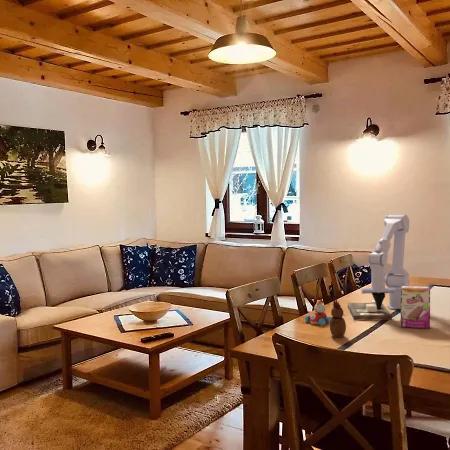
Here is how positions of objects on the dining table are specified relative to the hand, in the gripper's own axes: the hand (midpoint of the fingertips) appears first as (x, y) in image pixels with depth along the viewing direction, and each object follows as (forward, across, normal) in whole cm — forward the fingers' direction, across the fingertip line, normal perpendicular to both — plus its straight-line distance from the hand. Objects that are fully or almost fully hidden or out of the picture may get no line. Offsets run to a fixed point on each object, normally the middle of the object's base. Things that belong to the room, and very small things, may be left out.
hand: (378, 309), depth 217 cm
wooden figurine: (+3, -21, -31) cm, 37 cm away
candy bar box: (+3, +11, -18) cm, 21 cm away
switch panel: (+3, -4, +5) cm, 7 cm away
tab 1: (+1, -3, 0) cm, 3 cm away
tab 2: (+1, 0, +8) cm, 8 cm away
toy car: (+3, -27, -11) cm, 29 cm away
